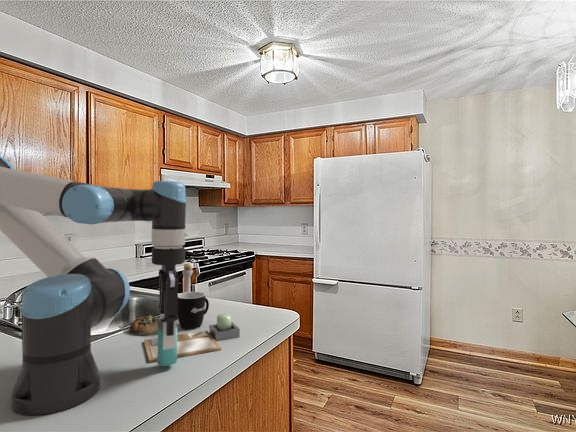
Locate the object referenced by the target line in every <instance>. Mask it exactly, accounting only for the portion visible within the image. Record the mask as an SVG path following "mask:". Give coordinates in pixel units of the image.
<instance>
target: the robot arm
mask: <svg viewBox="0 0 576 432" xmlns="http://www.w3.org/2000/svg"><path fill="white" fill-rule="evenodd" d="M186 209H187V199H186V185H185V184H184V183H183V182H182V181H173V180H172V181H171V180H156V181H154V182H153V183H152V186H151V188H149V189H138V188H137V189H134V188H132V189H131V188H119V187H110V186H109V187H108V186H103V185H95V184H90V183H85V182H81V181H80V182H79V181H75V180H70V179H64V178H60V177H55V176H50V175H44V174H38V173H36V172H35V173H34V172H29V171H24V170H20V169H16V168H15V167H14V165H13V164H12V163H11V162H10V161H9V160H8V159H6V158H4V157H3V156H1V155H0V232H1V233H2V234H4V236H6V238H7V239H8V240H9V241H11V242H12V243H13V244H14V246H16V248H18V250H20V251H21V252H22V254H24V255H25V256H26V258H28V259H29V261H31V262H32V263H33V264H34V265H35V266H36V267H37V268H38V269H39V270H40V271H41V272H42V273H43V274H44V275H45V276H46V277H44V278H41V279H38V280H36V281H33V282H32V283H30V284H28V286H26V287H25V288H24V289H23V292H22V297H21V298H22V299H21V303H20V304H21V305H20V313H21V340H22V341H21V342H22V343H21V344H22V345H21V347H22V348H21V349H22V351H21V352H22V364H21V367H20V369H19V372H18V376H17V378H16V380H15V383H14V385H13V386H14V387H13V389H12V392H11V395H10V396H11V398H10V399H11V409H12V411H14V412H15V413H17V414H20V415H27V416H37V415H38V416H39V415H47V414H54V413H58V412H61V411H64V410H68V409H70V408H73V407H76V406H78V405H80V404H82V403H84V402H86V401H87V400H89V399H91V398H92V397H93V396H95V395H96V394H97V393H98V391H99V390H100V388H101V374H100V370H99V368H98V366H97V363H96V360H95V358H94V355H93V353H92V346H91V345H92V344H91V342H92V341H91V340H92V339H91V338H92V337H91V336H92V334H91V333H92V332H91V331H92V328H94V327H96V326H97V325H99V324H102V323H103V322H105V321H106V320H109V319H111V318H113V317H115V316H117V314H118V313H119V312H121V311H122V310H123V309H124V308H125V307H126V305H127V304H128V302H129V300H130V296H131V291H130V290H131V287H130V283H129V280H128V278H127V277H126V275H125V274H124V273H123V272H121V271H120V270H118V269H115V268H108V267H107V268H106V267H105V266H104V265H103V264H102V262H100V261H99V260H98V259H97V258H96V257H92V256H91V257H90V256H89V257H86V256H84V255H83V254H82V253H81V252H80V251H79V250H78V248H76V246H74V245H73V244H72V243H71V242H70V241H69V240H68V239H67V238H66V237H65V236H64V235H63V234H62V233H61V232H60V231H59V229H57V228H56V227H55V226H54V225H53V224H52V223H51V222H50V221H49V220H48V219H47V218H45V216H44V215H43V214H47V215H52V216H53V215H54V216H58V217H64V218H67V219H69V220H71V221H73V222H74V223H77V224H84V225H96V224H103V223H105V224H106V223H114V222H117V223H118V222H135V221H136V222H151V245H152V249H151V263H152V264H153V265H155V266H156V265H157V266H161V268H160V269H159V270H158V279H159V281H158V282H159V283H158V285H159V295H158V296H159V298H158V300H159V302H158V303H159V305H158V308H159V313H160V314H159V319H161V318H164V319H162V320H161V322H163V350H165V349H171V348H175V340H176V320H178V294H179V282H180V279H179V272H178V271H177V269H176V265H181V264H185V262H186V248H185V247H184V246H185V245H186V237H188V232H187V231H186V214H187V213H186V211H187V210H186ZM42 213H43V214H42Z"/></svg>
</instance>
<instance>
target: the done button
mask: <svg viewBox="0 0 576 432" xmlns="http://www.w3.org/2000/svg"><path fill="white" fill-rule="evenodd" d="M231 322H232V314H229V313H223V314H217V317H216V324H217V330H218V331H222V330H229V329H231Z"/></svg>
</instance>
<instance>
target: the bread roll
mask: <svg viewBox="0 0 576 432" xmlns="http://www.w3.org/2000/svg"><path fill="white" fill-rule="evenodd" d="M159 319H160V317H157V316H156V315H151V314H148V315H146V316H142V315H141V316H139V317H138V318H136V319H135V320H134V321H133V322H132V323H130V324H131V325H129V331H130V332H129V333H130V334H132V333H133V334H132V335H137V336H138V335H141V336H151V335H157V334H158V320H159ZM156 333H157V334H156Z"/></svg>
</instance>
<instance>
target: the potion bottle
mask: <svg viewBox="0 0 576 432" xmlns="http://www.w3.org/2000/svg"><path fill="white" fill-rule="evenodd" d="M181 270H182V271H181V272H182V275H183V277H184V278H183V279H184V280H183V283H184V284H183V287H184V289H183V290H184V291H183V293H185V292H192V291H191V286H192V285H191V284H192V283H191V277H192V276H193V273H194V270H193V269H192V265H191V264H189V263H183V269H181Z"/></svg>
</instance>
